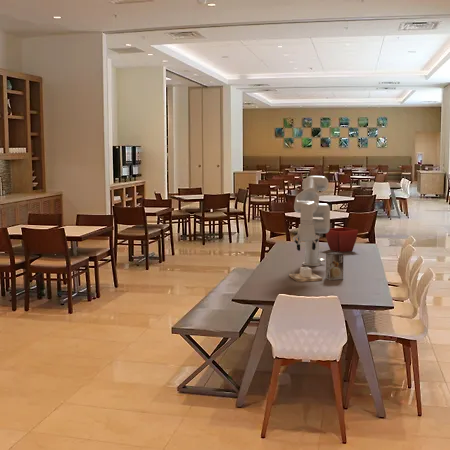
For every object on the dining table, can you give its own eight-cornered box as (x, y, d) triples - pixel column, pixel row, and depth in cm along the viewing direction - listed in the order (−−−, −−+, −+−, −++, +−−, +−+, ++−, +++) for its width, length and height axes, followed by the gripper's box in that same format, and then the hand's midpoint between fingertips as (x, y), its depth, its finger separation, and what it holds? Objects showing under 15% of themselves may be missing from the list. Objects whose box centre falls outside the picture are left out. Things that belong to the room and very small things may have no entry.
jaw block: (307, 274, 389) (307, 266, 388) (311, 276, 382) (311, 269, 381) (299, 275, 388) (299, 267, 387) (303, 277, 381) (303, 269, 380)
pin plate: (313, 275, 394) (313, 265, 394) (322, 280, 379) (322, 270, 378) (289, 276, 391) (289, 266, 390) (297, 281, 375) (297, 272, 375)
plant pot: (323, 249, 487) (324, 228, 485) (343, 247, 495) (344, 227, 493) (337, 253, 470) (338, 231, 468) (358, 251, 478) (358, 230, 476)
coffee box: (338, 277, 388) (339, 252, 386) (343, 279, 382) (344, 253, 380) (325, 278, 386) (325, 252, 384) (329, 280, 380) (330, 254, 377)
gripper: (317, 221, 386) (317, 248, 389) (291, 222, 382) (290, 249, 385) (322, 223, 379) (321, 250, 381) (295, 224, 375) (294, 251, 377)
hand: (306, 250), depth 383 cm, fingers open, 9 cm apart
